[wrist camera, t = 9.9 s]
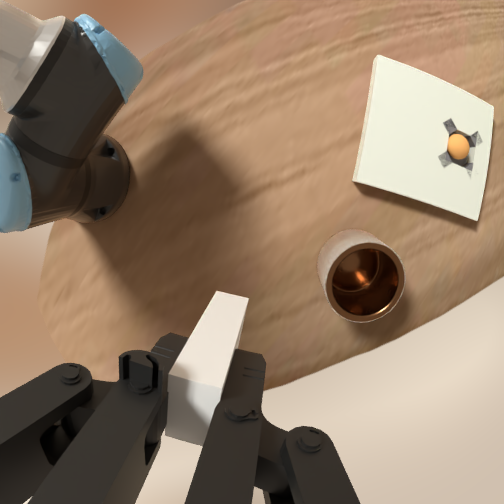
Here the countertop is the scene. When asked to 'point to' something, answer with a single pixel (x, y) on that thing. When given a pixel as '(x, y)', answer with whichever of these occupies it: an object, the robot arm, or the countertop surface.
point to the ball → (458, 146)
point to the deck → (423, 139)
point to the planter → (360, 275)
